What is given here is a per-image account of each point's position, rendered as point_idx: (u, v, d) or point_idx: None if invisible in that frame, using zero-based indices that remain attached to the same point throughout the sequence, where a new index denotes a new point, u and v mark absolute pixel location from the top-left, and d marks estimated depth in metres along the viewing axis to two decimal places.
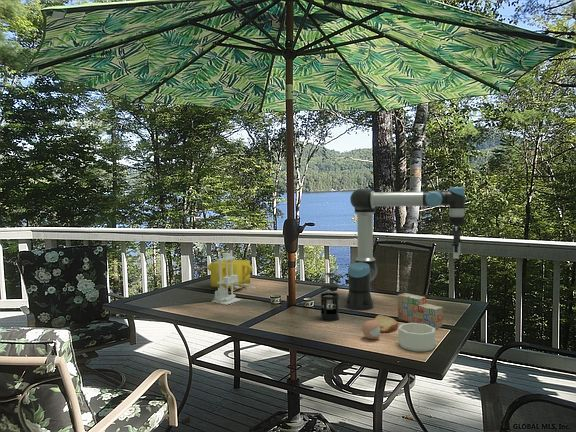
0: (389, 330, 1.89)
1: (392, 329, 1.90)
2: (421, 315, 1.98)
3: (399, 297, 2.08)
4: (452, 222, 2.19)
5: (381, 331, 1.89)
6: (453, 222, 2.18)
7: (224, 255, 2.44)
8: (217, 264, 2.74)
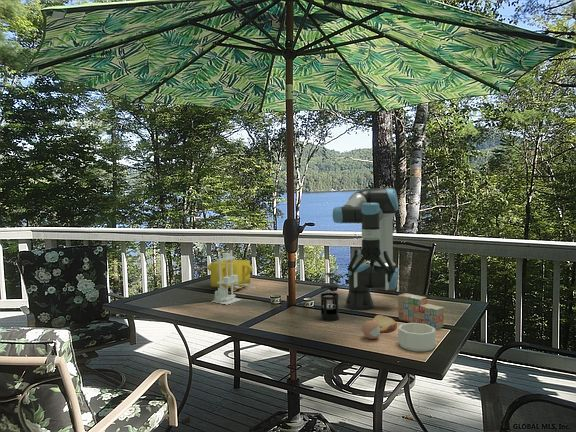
0: (388, 330, 1.89)
1: (391, 329, 1.90)
2: (422, 315, 1.97)
3: (400, 297, 2.07)
4: None
5: (380, 331, 1.89)
6: None
7: (224, 255, 2.44)
8: (217, 264, 2.74)
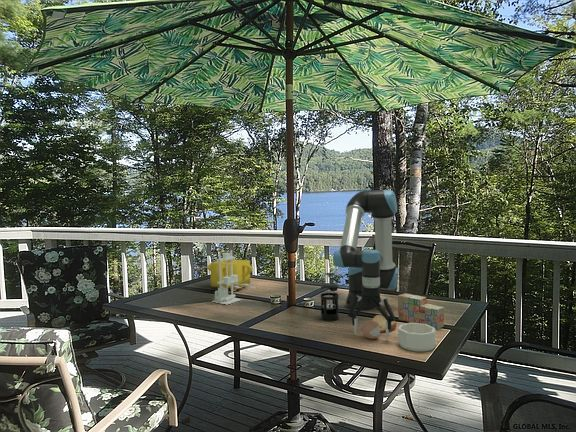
0: None
1: (390, 329, 1.90)
2: (423, 316, 1.97)
3: (399, 298, 2.07)
4: None
5: None
6: None
7: (224, 255, 2.44)
8: (217, 264, 2.74)
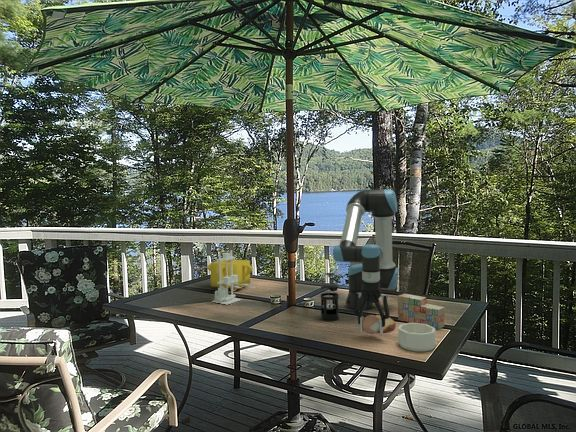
0: (386, 330, 1.89)
1: (389, 329, 1.90)
2: (423, 316, 1.97)
3: (399, 298, 2.06)
4: None
5: (378, 331, 1.89)
6: None
7: (224, 255, 2.44)
8: (217, 264, 2.74)
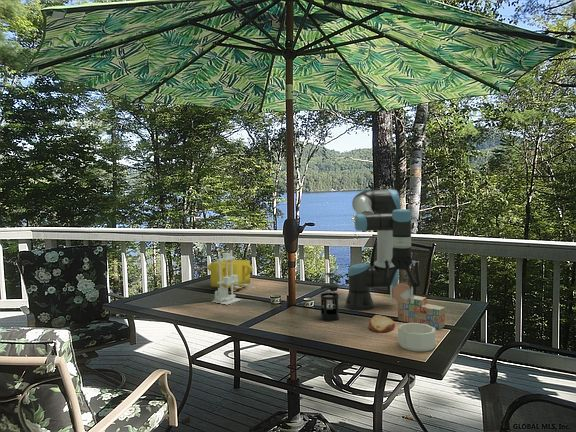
0: (385, 330, 1.89)
1: (388, 329, 1.90)
2: (424, 316, 1.97)
3: None
4: None
5: (377, 331, 1.89)
6: None
7: (224, 255, 2.44)
8: (217, 264, 2.74)
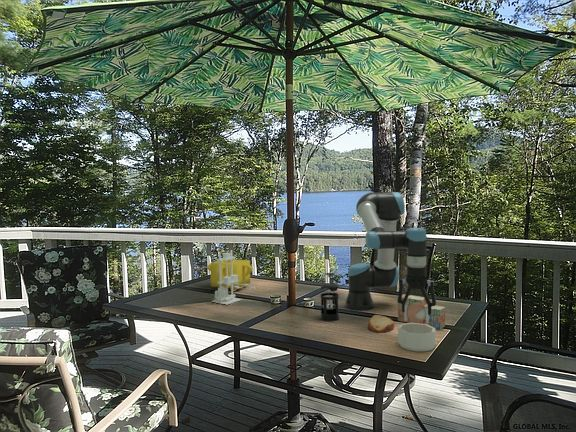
0: (385, 330, 1.89)
1: (388, 329, 1.90)
2: (425, 316, 1.96)
3: None
4: None
5: (377, 331, 1.89)
6: None
7: (224, 255, 2.44)
8: (217, 264, 2.74)
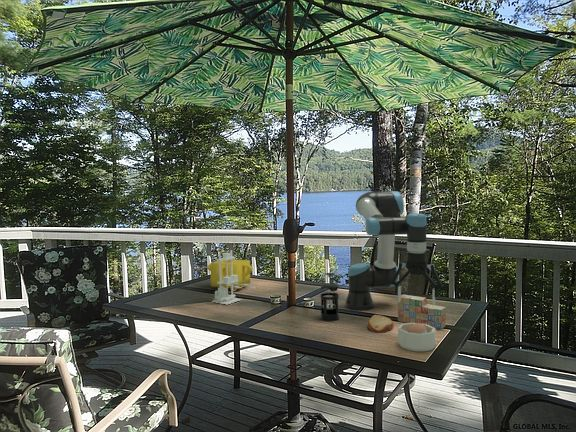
0: (384, 330, 1.90)
1: (387, 329, 1.90)
2: (425, 316, 1.96)
3: None
4: None
5: (376, 331, 1.89)
6: None
7: (224, 255, 2.44)
8: (217, 264, 2.74)
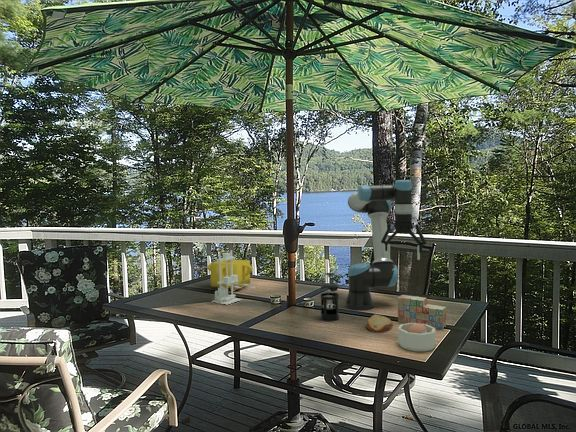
0: (382, 329, 1.90)
1: (385, 329, 1.91)
2: (426, 317, 1.96)
3: (399, 300, 2.03)
4: None
5: (374, 330, 1.90)
6: None
7: (224, 255, 2.44)
8: (217, 264, 2.74)
